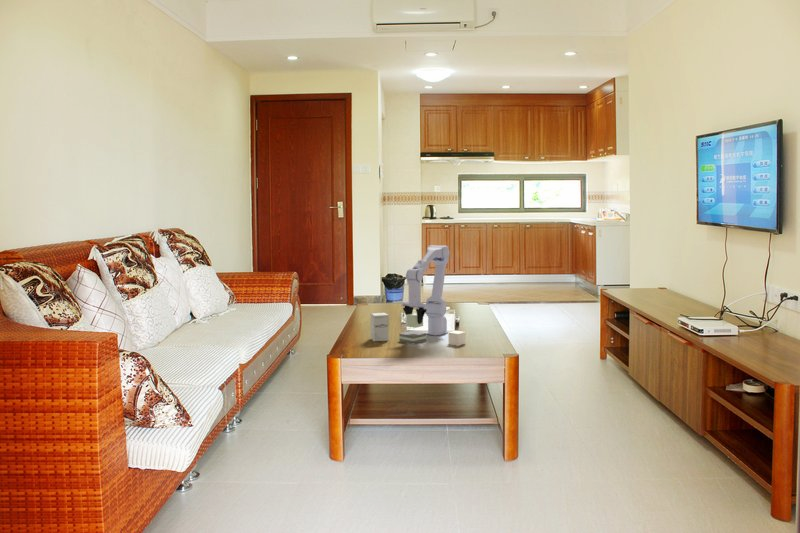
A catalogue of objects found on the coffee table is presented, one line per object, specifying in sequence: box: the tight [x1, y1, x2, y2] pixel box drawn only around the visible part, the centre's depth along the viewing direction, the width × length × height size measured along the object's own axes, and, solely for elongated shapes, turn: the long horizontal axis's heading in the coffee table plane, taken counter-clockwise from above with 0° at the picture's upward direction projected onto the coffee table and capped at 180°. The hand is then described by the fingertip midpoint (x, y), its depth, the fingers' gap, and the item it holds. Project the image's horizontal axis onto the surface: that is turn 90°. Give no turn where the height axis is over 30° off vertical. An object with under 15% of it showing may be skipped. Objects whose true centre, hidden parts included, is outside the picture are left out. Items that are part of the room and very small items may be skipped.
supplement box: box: [369, 312, 390, 343], centre depth 325 cm, size 7×7×13 cm
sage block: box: [405, 312, 424, 329], centre depth 321 cm, size 6×6×6 cm
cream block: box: [448, 330, 466, 347], centre depth 316 cm, size 6×6×6 cm
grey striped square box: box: [398, 330, 427, 345], centre depth 323 cm, size 9×9×4 cm
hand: (414, 322), depth 321 cm, fingers closed on sage block, 6 cm apart
